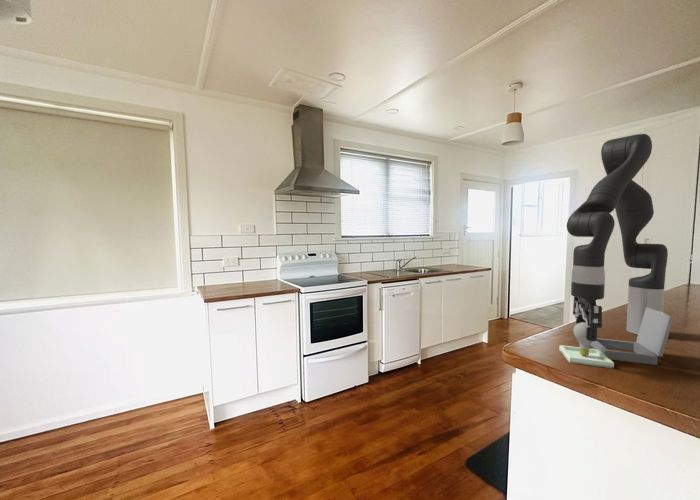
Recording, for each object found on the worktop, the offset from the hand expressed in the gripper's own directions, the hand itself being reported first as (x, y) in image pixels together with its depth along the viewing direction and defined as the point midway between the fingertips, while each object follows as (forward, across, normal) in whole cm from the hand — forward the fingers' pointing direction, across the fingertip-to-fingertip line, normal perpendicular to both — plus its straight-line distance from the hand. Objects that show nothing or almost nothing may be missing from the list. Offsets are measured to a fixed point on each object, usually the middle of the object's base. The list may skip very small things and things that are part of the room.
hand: (585, 335), depth 85 cm
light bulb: (+6, 0, 0) cm, 7 cm away
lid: (-1, +8, -18) cm, 20 cm away
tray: (+7, 0, 0) cm, 7 cm away
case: (+7, +8, -11) cm, 15 cm away
